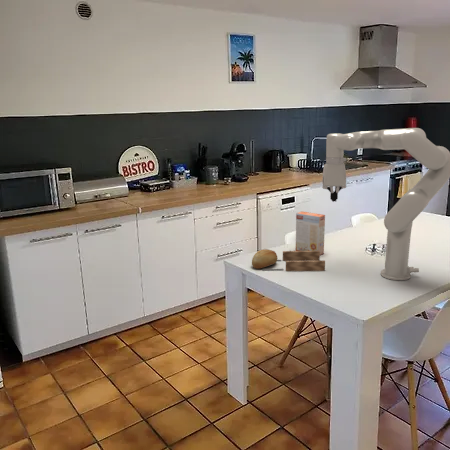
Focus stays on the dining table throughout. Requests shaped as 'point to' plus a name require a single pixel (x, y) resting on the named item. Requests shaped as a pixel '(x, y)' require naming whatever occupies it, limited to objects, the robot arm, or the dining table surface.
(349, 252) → the dining table surface
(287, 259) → the channel
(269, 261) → the bread roll
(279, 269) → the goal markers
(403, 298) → the dining table surface
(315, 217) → the cracker box
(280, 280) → the dining table surface
